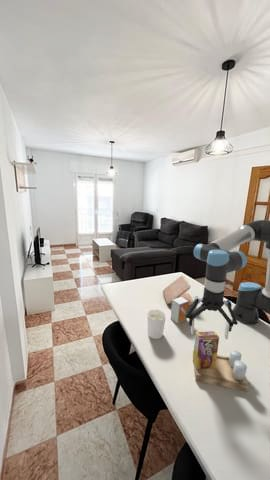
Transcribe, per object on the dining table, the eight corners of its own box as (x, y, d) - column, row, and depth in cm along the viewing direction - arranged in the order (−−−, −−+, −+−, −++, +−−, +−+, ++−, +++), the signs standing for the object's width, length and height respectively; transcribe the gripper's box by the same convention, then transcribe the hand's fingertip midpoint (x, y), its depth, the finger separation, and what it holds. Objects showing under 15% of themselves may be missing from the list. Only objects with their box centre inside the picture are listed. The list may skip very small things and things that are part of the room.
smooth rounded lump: (240, 372, 83) (243, 360, 81) (246, 382, 78) (249, 370, 77) (230, 371, 82) (232, 360, 81) (235, 381, 78) (237, 369, 77)
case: (161, 293, 154) (163, 274, 151) (188, 293, 155) (189, 275, 152) (166, 308, 134) (168, 286, 131) (196, 308, 135) (199, 287, 132)
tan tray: (237, 364, 89) (238, 359, 89) (247, 391, 77) (249, 385, 76) (192, 356, 93) (193, 351, 92) (195, 381, 81) (196, 374, 80)
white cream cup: (149, 341, 102) (151, 321, 99) (144, 329, 111) (145, 310, 108) (167, 338, 104) (168, 318, 102) (160, 327, 114) (161, 308, 111)
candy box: (211, 360, 88) (215, 330, 85) (215, 368, 84) (220, 337, 81) (191, 361, 87) (195, 331, 84) (195, 369, 83) (199, 338, 80)
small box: (177, 324, 117) (179, 304, 114) (170, 318, 122) (171, 299, 119) (187, 320, 121) (189, 300, 118) (179, 314, 126) (181, 296, 124)
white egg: (237, 362, 88) (239, 350, 87) (240, 370, 84) (242, 358, 82) (227, 360, 89) (229, 348, 87) (229, 368, 84) (231, 356, 83)
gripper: (244, 287, 79) (237, 333, 84) (181, 281, 84) (178, 324, 89) (251, 296, 72) (243, 346, 77) (182, 289, 77) (178, 336, 81)
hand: (208, 334), depth 83 cm, fingers open, 13 cm apart
